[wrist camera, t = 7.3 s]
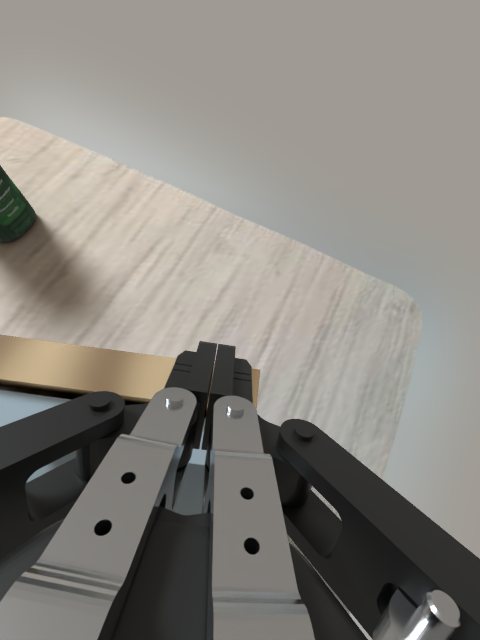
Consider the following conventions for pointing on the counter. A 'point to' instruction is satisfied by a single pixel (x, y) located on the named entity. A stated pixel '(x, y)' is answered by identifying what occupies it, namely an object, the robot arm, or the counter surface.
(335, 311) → the counter surface
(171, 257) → the counter surface
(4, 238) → the coffee jar
